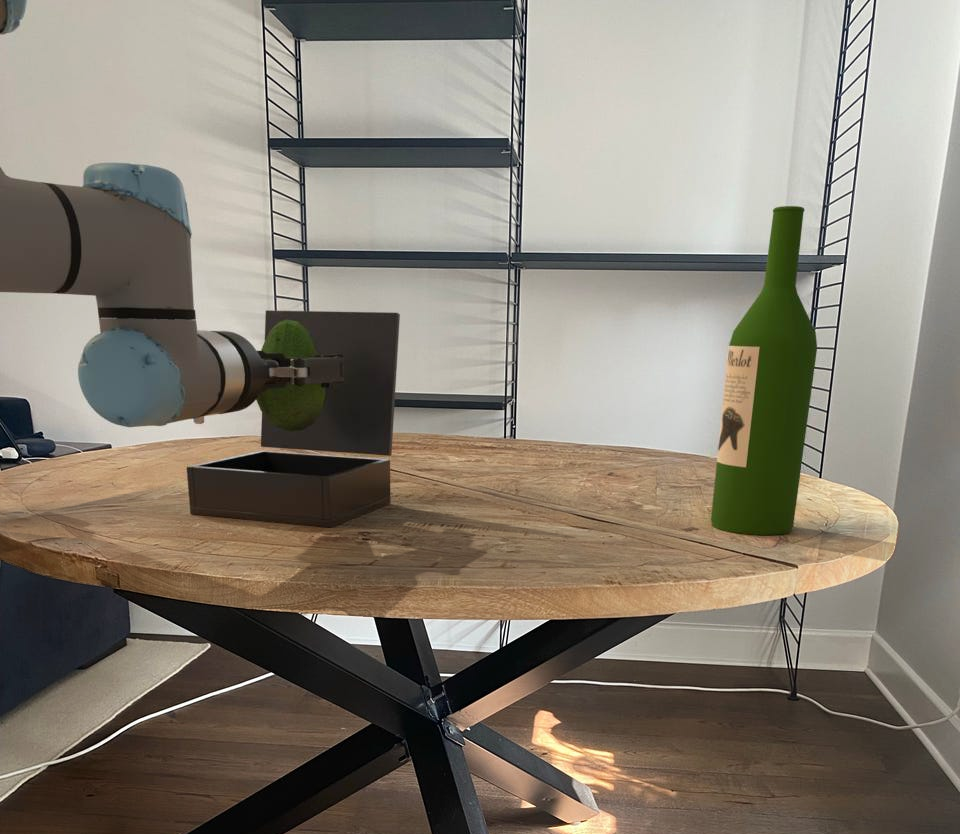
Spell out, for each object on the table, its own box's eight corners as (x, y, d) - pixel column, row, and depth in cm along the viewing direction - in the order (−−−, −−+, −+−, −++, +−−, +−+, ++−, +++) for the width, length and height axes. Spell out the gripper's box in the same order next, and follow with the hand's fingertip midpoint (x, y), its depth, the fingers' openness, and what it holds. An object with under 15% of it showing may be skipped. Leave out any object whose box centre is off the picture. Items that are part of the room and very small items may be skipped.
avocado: (332, 428, 107) (328, 320, 103) (320, 435, 100) (315, 319, 96) (264, 426, 107) (258, 319, 103) (247, 434, 100) (240, 318, 96)
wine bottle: (693, 522, 104) (724, 208, 93) (752, 516, 108) (788, 215, 97) (748, 538, 96) (789, 199, 86) (810, 531, 100) (856, 206, 90)
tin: (330, 527, 97) (328, 477, 95) (190, 514, 102) (186, 466, 100) (390, 503, 111) (390, 459, 109) (264, 492, 116) (262, 450, 114)
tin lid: (397, 312, 106) (400, 313, 107) (265, 310, 111) (268, 311, 112) (388, 455, 109) (391, 455, 109) (260, 446, 114) (263, 447, 115)
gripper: (114, 411, 88) (225, 396, 109) (317, 418, 84) (390, 401, 105) (105, 328, 85) (220, 330, 106) (313, 332, 81) (389, 333, 103)
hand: (304, 365), depth 106 cm, fingers closed on avocado, 8 cm apart
